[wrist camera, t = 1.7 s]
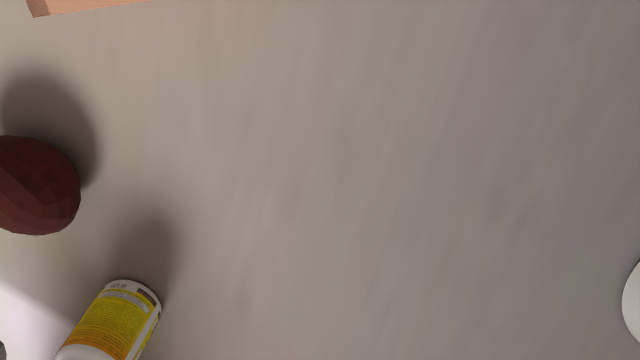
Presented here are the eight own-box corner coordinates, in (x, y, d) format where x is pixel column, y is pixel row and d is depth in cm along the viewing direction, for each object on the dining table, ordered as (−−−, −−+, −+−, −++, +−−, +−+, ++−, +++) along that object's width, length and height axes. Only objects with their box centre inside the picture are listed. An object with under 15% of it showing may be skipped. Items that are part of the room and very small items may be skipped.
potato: (36, 97, 41) (-21, 137, 36) (117, 183, 44) (76, 231, 39) (-22, 143, 44) (-81, 185, 39) (58, 221, 47) (12, 269, 42)
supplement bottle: (95, 273, 49) (24, 370, 41) (156, 278, 48) (96, 377, 40) (112, 320, 52) (49, 419, 44) (169, 325, 51) (116, 428, 43)
